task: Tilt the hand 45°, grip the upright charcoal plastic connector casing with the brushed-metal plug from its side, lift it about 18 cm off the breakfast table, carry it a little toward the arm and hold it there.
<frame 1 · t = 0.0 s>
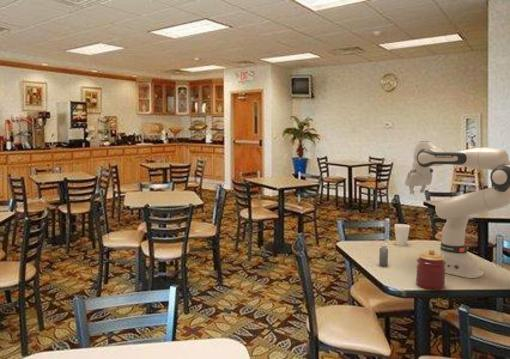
hand: (416, 193, 249), 39 cm above the table, tool pointing down, fingers open, 8 cm apart
canister: (430, 285, 209), on the table
connector casing: (383, 264, 241), on the table
foam cup: (401, 245, 286), on the table
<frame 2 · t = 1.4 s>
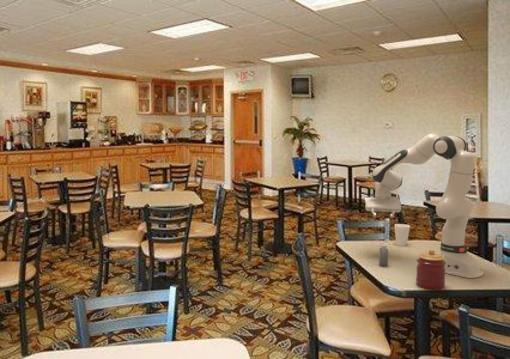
hand: (383, 216, 251), 25 cm above the table, tool tilted 45°, fingers open, 8 cm apart
nothing on the table moved.
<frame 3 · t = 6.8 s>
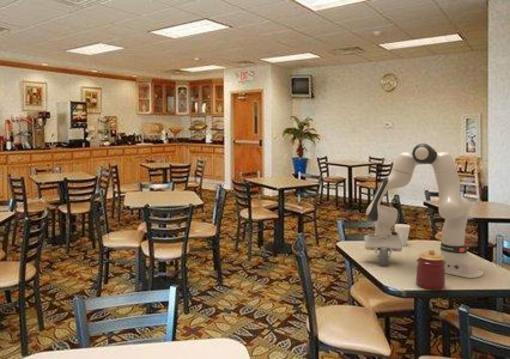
hand: (383, 256, 240), 5 cm above the table, tool tilted 45°, fingers closed on connector casing, 4 cm apart
connector casing: (383, 264, 241), on the table, touching gripper
everything else where it was.
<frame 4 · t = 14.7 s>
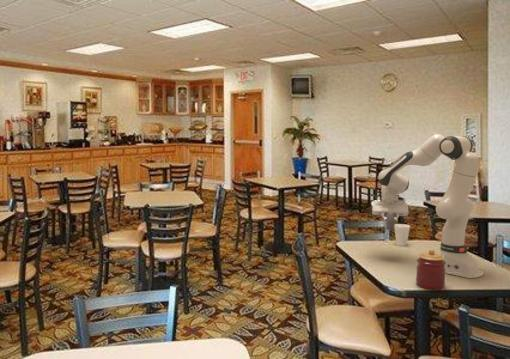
hand: (390, 220, 247), 23 cm above the table, tool tilted 45°, fingers closed on connector casing, 4 cm apart
connector casing: (389, 228, 248), point 18 cm above the table, touching gripper
everything else where it was.
at the end: the gripper is holding connector casing; connector casing point 18.5 cm above the table; connector casing touching gripper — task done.
